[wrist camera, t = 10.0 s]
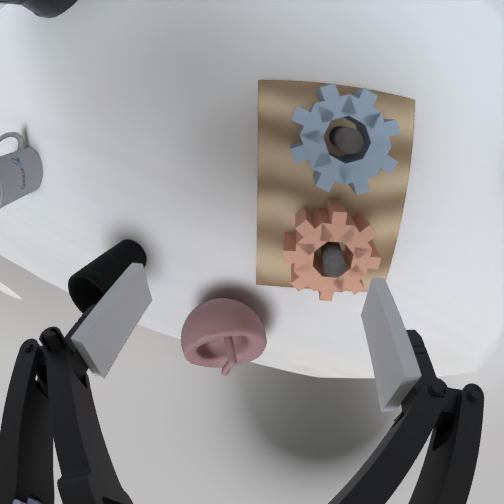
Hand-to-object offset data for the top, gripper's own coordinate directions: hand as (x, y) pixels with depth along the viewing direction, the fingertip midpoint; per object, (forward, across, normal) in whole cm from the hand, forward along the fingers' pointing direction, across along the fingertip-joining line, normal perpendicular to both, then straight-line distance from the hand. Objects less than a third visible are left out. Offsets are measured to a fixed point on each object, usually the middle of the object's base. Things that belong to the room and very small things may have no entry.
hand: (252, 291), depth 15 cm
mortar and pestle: (+20, -6, -20) cm, 29 cm away
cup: (+20, -22, -11) cm, 32 cm away
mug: (+21, -44, +8) cm, 49 cm away
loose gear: (+18, +7, -6) cm, 20 cm away
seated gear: (+18, +7, +7) cm, 21 cm away
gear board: (+20, +7, 0) cm, 21 cm away
